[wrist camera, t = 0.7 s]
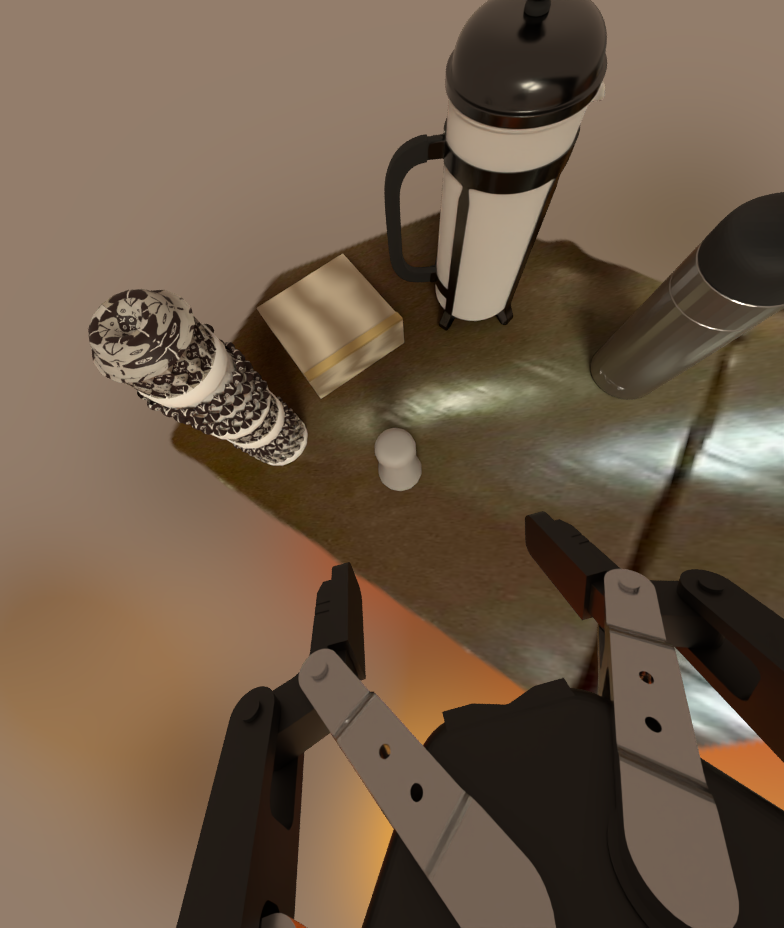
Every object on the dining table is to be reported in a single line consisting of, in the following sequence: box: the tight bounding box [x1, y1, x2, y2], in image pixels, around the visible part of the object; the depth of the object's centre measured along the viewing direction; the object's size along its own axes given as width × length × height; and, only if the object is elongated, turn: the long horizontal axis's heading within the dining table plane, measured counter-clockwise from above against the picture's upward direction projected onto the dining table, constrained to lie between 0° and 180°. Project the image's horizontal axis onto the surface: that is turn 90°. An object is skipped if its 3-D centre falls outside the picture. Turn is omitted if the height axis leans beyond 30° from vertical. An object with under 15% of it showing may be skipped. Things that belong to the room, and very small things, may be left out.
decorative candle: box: [88, 289, 308, 465], centre depth 33 cm, size 9×9×25 cm
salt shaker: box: [375, 428, 421, 491], centre depth 36 cm, size 6×6×13 cm
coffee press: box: [385, 0, 607, 330], centre depth 34 cm, size 17×16×30 cm
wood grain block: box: [257, 254, 404, 399], centre depth 46 cm, size 16×16×5 cm
